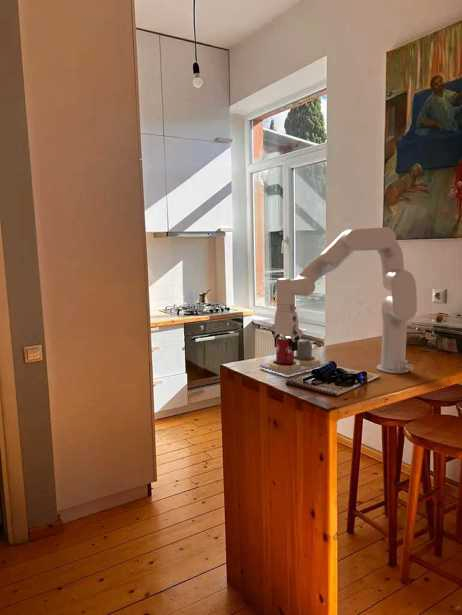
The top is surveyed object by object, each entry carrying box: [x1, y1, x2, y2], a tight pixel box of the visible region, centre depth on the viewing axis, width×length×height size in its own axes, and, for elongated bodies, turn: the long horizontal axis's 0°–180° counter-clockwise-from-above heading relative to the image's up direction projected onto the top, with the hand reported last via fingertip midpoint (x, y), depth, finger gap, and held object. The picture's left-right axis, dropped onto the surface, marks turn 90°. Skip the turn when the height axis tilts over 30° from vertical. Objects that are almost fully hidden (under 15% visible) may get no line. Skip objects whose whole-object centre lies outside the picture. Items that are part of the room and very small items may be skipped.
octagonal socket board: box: [259, 354, 329, 375], centre depth 195 cm, size 16×25×4 cm, turn 129°
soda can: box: [275, 335, 295, 366], centre depth 190 cm, size 7×7×12 cm
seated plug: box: [295, 339, 313, 361], centre depth 198 cm, size 7×7×9 cm
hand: (286, 348), depth 190 cm, fingers open, 9 cm apart
